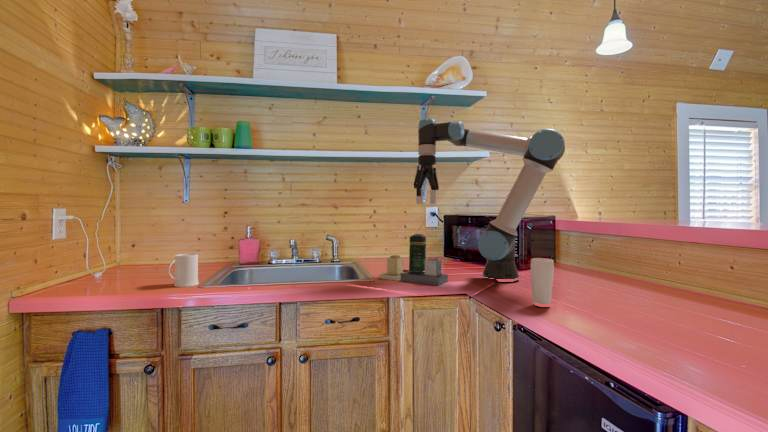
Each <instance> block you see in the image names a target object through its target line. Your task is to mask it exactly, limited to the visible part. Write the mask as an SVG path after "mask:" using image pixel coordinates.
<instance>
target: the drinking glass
mask: <svg viewBox="0 0 768 432" xmlns="http://www.w3.org/2000/svg"><path fill="white" fill-rule="evenodd" d="M554 262H555V260H554V259H552V258H546V257H545V258H543V257H534V258H530V282H531V293H532V294H531V295H532V296H531V297H532V299H531V300H532V301H533V302H534V303H539V304H549V303H551V304H552V302H551V301H552V292H553V285H554V283H553V282H554V275H555V274H554V273H555V272H554V271H555V263H554Z"/></svg>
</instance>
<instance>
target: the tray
mask: <svg viewBox="0 0 768 432" xmlns="http://www.w3.org/2000/svg"><path fill="white" fill-rule="evenodd" d="M404 272H405V271H403V273H404ZM378 278H379V279H382V280H389V281H391V280H392V281H401V275H400V276H390V275H387V272H383V273H380V274H379V276H378Z"/></svg>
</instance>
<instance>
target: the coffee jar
mask: <svg viewBox="0 0 768 432" xmlns="http://www.w3.org/2000/svg"><path fill="white" fill-rule="evenodd" d="M408 249H409V252H408V254H409V255H408V257H409V258H408V259H409V260H408V261H409V263H408V264H409V265H408V271H420V272H423V271H425V260H427V237H426V236H425V235H424V234H423V233H415V234H413V235H411V236H409V248H408Z"/></svg>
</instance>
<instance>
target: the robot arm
mask: <svg viewBox="0 0 768 432" xmlns="http://www.w3.org/2000/svg"><path fill="white" fill-rule="evenodd" d="M417 132H418V133H417V134H418V135H417V137H418V149H417V152H418V161H417V162H418V165H417V166H416V169H417V170H416V173H415V177H414V182H413V188H414V189H415V190H416V193H415V194H416V196H415V198H416V203H415V204H416V205H423V204H424V188H423V185H424V183H425V180H426V179H427V181H428V183H429V187H430V190H429V191H430V192H429V195H430V197H429V198H430V199H429V204H430V205H437V191H438V190H439V189H440V186H439V181H438V176H437V169H436V167H433V165H436V161H437V160H436V159H437V157H436V154H437V148H436V147H437V142H445V141H447V142H449V143H451V144H453V145H454V146H455V147H456V146H457V147H466V148H467V147H468V148H473V149H479V150H486V151H493V152H496V153H503V154H509V155H515V156H520V157H523V158H522V161H523V166H522V168H521V170H520V172H519V173H518V176H517V178H516V180H515V181H514V183H513V185H512V187H511V189H510V191H509V193H508V195H507V196H506V199H505V201H504V202H503V205H502V206H501V209H500V210H499V212H498V215H497V216H496V218H495V219H493V220H490V221H489V222H488V224H487V227H486V229H485V231H484V232H483V233H481V235H480V236H479V239H478V241H477V249H478V251H479V253H480V255H481V256H482V257H483V258H485V259H486V263H485V265H484V268H483V272H482V277H483V276H484V277H488V278H494V279H515V278H518V277H520V275H519V272H518V268H517V265H516V261H515V259H516V239H517V236H518V232H517V229H518V226H519V224H520V223H521V221H522V219H523V217H524V216H525V214H526V211H527V209H528V208H529V206H530V205H531V202H532V200H533V199H534V196H535V195H536V192H537V191H538V189H539V188H540V186H541V183H542V182H543V179H544V178H545V176H546V174H549V173H551V172H552V171H553V170H554V168H555V167H556V165H557V163H558V161H559V160H560V159H562V158H563V156H564V153H565V149H566V145H565V138H564V136H563V135H562V134H561V133H560V132H559V131H557V130H555V129H552V128H542V129H540V130H537V131H536V132H535V133H533V134H532V135H531V136H529V137H523V136H515V135H510V134H502V133H497V132H496V133H495V132H489V131H482V130H475V129H468V128H465V126H464V123H463V122H462V121H460V120H458V121H456V120H452V121H449V122H448V121H447V122H439V123H437V121H436V119H434V118H423V119H420V120H419V122H418V130H417Z"/></svg>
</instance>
